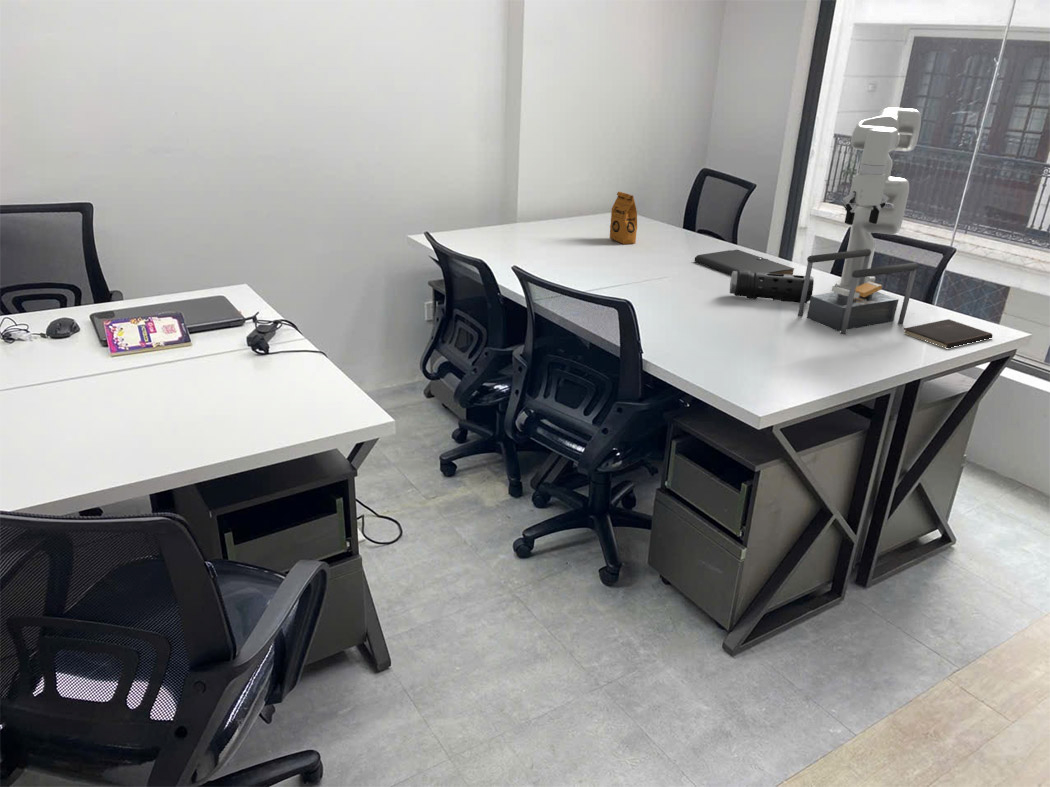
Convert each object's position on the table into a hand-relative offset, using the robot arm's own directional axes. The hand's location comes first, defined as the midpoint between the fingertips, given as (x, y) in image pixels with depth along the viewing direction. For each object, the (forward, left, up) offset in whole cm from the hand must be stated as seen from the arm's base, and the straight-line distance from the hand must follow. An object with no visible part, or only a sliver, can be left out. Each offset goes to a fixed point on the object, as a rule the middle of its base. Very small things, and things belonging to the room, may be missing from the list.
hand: (860, 223), depth 254 cm
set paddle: (+5, +4, -22) cm, 23 cm away
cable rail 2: (0, +13, -32) cm, 35 cm away
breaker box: (0, +4, -32) cm, 32 cm away
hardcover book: (-18, +28, -33) cm, 47 cm away
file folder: (-9, -61, -33) cm, 70 cm away
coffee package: (+13, -119, -32) cm, 124 cm away
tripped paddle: (-5, +4, -22) cm, 23 cm away
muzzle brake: (+11, -24, -33) cm, 42 cm away
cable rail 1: (0, -6, -32) cm, 33 cm away
